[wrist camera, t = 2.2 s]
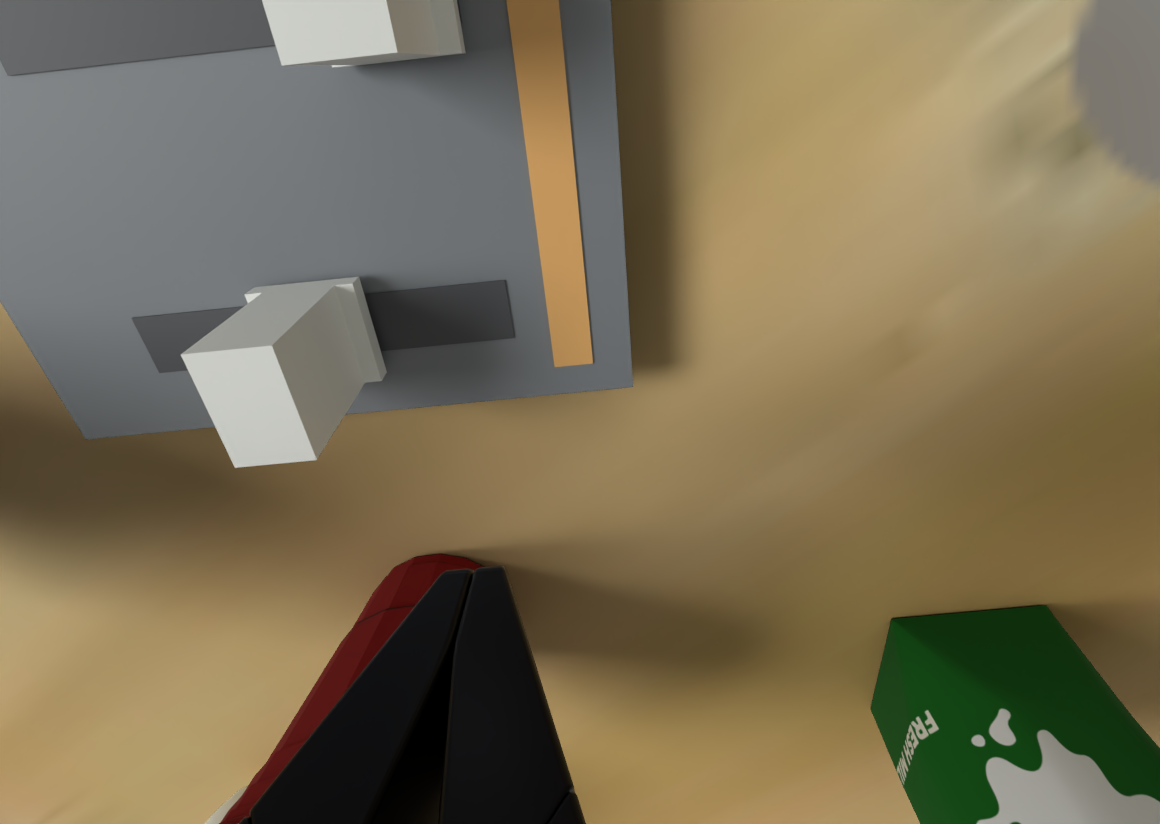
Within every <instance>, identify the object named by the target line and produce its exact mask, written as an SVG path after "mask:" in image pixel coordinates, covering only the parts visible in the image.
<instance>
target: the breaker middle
mask: <svg viewBox="0 0 1160 824" xmlns="http://www.w3.org/2000/svg"><path fill="white" fill-rule="evenodd" d="M262 2H263V6H264V9H265V12H266V15H267V19H268V22H269V25H270V29H271V32H272V35H273V38H274V42H275V45H276V48H277V52H278V55H279V58H280V62H281V65H282V66H300V65H332V68H334V67H349V66H357V65H366V64H375V63H384V62H393V61H402V60H410V59H419V58H428V57H437V56H446V55H455V54H463V53H466V52H465V46H464V40H463V34H462V28H461V22H460V16H459V10H458V4H457V0H262Z"/></svg>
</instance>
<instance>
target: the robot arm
mask: <svg viewBox="0 0 1160 824" xmlns="http://www.w3.org/2000/svg"><path fill="white" fill-rule="evenodd" d="M239 824H586V823H585V820H584V816H583V813H582V810H581V807H580V804H579V800H578V797H577V795H576V793H575V791H574V786H573V782H572V779H571V776H570V773H569V770H568V767H567V763H566V760H565V757H564V754H563V751H562V747H561V744H560V741H559V738H558V735H557V731H556V728H555V725H554V722H553V719H552V715H551V712H550V709H549V706H548V703H547V699H546V696H545V693H544V690H543V687H542V683H541V680H540V677H539V674H538V671H537V667H536V664H535V661H534V658H533V655H532V652H531V648H530V645H529V642H528V639H527V636H526V632H525V629H524V626H523V623H522V620H521V616H520V613H519V610H518V607H517V604H516V600H515V597H514V594H513V591H512V588H511V584H510V581H509V578H508V575H507V572H506V569H505V568H504V567H503V566H492V567H481V568H477V569H476V570H475V571H474V570H472V569H458V570H447V571H445V572H443V573H442V574H441V575H440V576H439V577H438V578H437V579H436V581H435V582H434V583H433V584H432V586H431V587H430V588H429V589H428V591H427V592H426V593H425V594H424V595H423V597H422V598H421V599H420V600H419V602H418V603H417V604H416V605H415V607H414V608H413V609H412V610H411V612H410V613H409V614H408V615H407V616H406V618H405V619H404V620H403V621H402V623H401V624H400V625H399V626H398V628H397V629H396V630H395V631H394V633H393V634H392V635H391V636H390V638H389V639H388V640H387V641H386V642H385V644H384V645H383V646H382V647H381V649H380V650H379V651H378V652H377V654H376V655H375V656H374V657H373V659H372V660H371V661H370V662H369V664H368V665H367V666H366V667H365V668H364V670H363V671H362V672H361V673H360V675H359V676H358V677H357V678H356V680H355V681H354V682H353V683H352V685H351V686H350V687H349V688H348V689H347V691H346V692H345V693H344V694H343V696H342V697H341V698H340V699H339V701H338V702H337V703H336V704H335V706H334V707H333V708H332V709H331V711H330V712H329V713H328V714H327V715H326V717H325V718H324V719H323V720H322V722H321V723H320V724H319V725H318V727H317V728H316V729H315V730H314V732H313V733H312V734H311V735H310V736H309V738H308V739H307V740H306V741H305V743H304V744H303V745H302V746H301V748H300V749H299V750H298V751H297V753H296V754H295V755H294V756H293V758H292V759H291V760H290V761H289V762H288V764H287V765H286V766H285V767H284V769H283V770H282V771H281V772H280V774H279V775H278V776H277V777H276V779H275V780H274V781H273V782H272V783H271V785H270V786H269V787H268V788H267V790H266V791H265V792H264V793H263V795H262V796H261V797H260V798H259V800H258V801H257V802H256V803H255V805H254V806H253V807H252V808H251V810H250V817H244V818H243V819H242V820H241V821H240V823H239Z"/></svg>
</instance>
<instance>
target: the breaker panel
mask: <svg viewBox="0 0 1160 824" xmlns="http://www.w3.org/2000/svg"><path fill="white" fill-rule="evenodd" d="M457 4H458V10H459V16H460V22H461V28H462V34H463V40H464V46H465V52H466V53H463V54H455V55H446V56H437V57H428V58H419V59H410V60H402V61H393V62H384V63H375V64H366V65H357V66H349V67H334V68H332V65H300V66H282V65H281V62H280V58H279V55H278V52H277V48H276V45H275V42H274V38H273V35H272V32H271V29H270V25H269V22H268V19H267V15H266V12H265V9H264V6H263V2H262V0H0V302H1V304H2V305H3V307H4V308H5V310H6V312H7V313H8V315H9V317H10V318H11V320H12V321H13V323H14V325H15V326H16V328H17V329H18V331H19V333H20V334H21V336H22V338H23V339H24V341H25V342H26V344H27V346H28V347H29V349H30V350H31V352H32V354H33V355H34V357H35V359H36V360H37V362H38V363H39V365H40V367H41V368H42V370H43V371H44V373H45V375H46V376H47V378H48V380H49V381H50V383H51V384H52V386H53V388H54V389H55V391H56V392H57V394H58V396H59V397H60V399H61V401H62V402H63V404H64V405H65V407H66V409H67V410H68V412H69V413H70V415H71V417H72V418H73V420H74V422H75V423H76V425H77V426H78V428H79V430H80V431H81V433H82V434H83V436H84V438H85V439H96V438H107V437H117V436H128V435H138V434H148V433H159V432H169V431H180V430H190V429H201V428H211V427H215V425H214V423H213V421H212V419H211V417H210V415H209V413H208V411H207V409H206V406H205V404H204V402H203V400H202V398H201V396H200V394H199V392H198V390H197V388H196V386H195V384H194V382H193V379H192V377H191V375H190V373H189V371H188V369H187V367H186V365H185V363H184V361H183V359H182V357H181V354H182V353H183V352H185V351H186V350H187V349H189V348H190V347H191V346H193V345H194V344H195V343H196V342H198V341H199V340H200V339H202V338H203V337H204V336H206V335H207V334H208V333H210V332H211V331H212V330H214V329H215V328H216V327H218V326H219V325H220V324H222V323H223V322H224V321H226V320H227V319H228V318H229V317H231V316H232V315H233V314H235V313H236V312H237V311H239V310H240V309H241V308H243V307H244V306H245V305H247V304H248V303H247V300H246V298H245V295H244V294H246V293H247V292H248V291H250V290H251V289H253V288H254V287H263V286H272V285H282V284H292V283H302V282H311V281H321V280H331V279H341V278H350V277H359V278H360V282H361V285H362V289H363V292H364V296H365V299H366V302H367V306H368V309H369V313H370V316H371V319H372V323H373V326H374V330H375V333H376V337H377V340H378V343H379V347H380V350H381V354H382V357H383V361H384V364H385V367H386V371H387V373H386V374H385V376H384V378H383V380H382V381H377V382H367V383H365V384H364V385H363V387H362V388H361V390H360V392H359V393H358V395H357V396H356V398H355V400H354V401H353V403H352V404H351V406H350V408H349V409H348V411H347V412H346V414H345V415H347V414H357V413H368V412H378V411H389V410H399V409H410V408H420V407H430V406H441V405H451V404H462V403H472V402H483V401H493V400H504V399H514V398H524V397H535V396H545V395H556V394H566V393H577V392H587V391H598V390H608V389H618V388H629V387H633V377H632V360H631V343H630V326H629V309H628V291H627V274H626V257H625V240H624V222H623V205H622V188H621V171H620V153H619V136H618V119H617V102H616V84H615V67H614V50H613V33H612V15H611V0H457Z"/></svg>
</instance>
